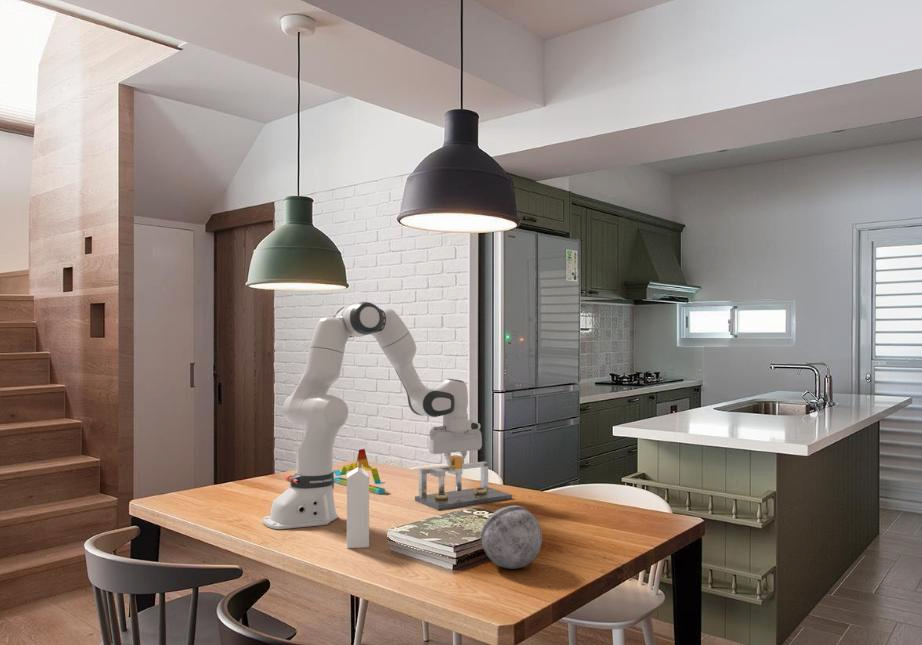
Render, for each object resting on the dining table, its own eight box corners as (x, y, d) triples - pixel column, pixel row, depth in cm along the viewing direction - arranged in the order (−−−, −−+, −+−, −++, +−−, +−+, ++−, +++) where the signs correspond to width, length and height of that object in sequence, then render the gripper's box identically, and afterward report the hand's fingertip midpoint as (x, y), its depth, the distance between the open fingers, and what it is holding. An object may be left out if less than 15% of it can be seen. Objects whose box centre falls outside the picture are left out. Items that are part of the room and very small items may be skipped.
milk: (368, 541, 191) (369, 461, 192) (369, 547, 185) (369, 465, 186) (346, 542, 191) (347, 461, 191) (346, 548, 185) (347, 465, 185)
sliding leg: (456, 491, 238) (456, 458, 239) (448, 488, 243) (448, 455, 243) (463, 490, 240) (463, 457, 240) (455, 487, 245) (455, 455, 245)
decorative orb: (521, 554, 179) (521, 496, 179) (554, 571, 166) (554, 508, 167) (471, 563, 172) (471, 503, 172) (501, 581, 159) (501, 516, 159)
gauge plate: (438, 510, 226) (438, 476, 226) (414, 500, 240) (414, 468, 240) (511, 498, 242) (511, 467, 243) (485, 490, 256) (485, 460, 256)
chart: (331, 482, 272) (331, 444, 272) (338, 481, 274) (338, 443, 274) (378, 495, 250) (378, 453, 250) (385, 494, 252) (385, 452, 252)
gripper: (434, 428, 234) (434, 469, 234) (484, 424, 245) (484, 463, 245) (425, 426, 239) (425, 466, 239) (474, 422, 250) (474, 460, 250)
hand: (455, 464), depth 242 cm, fingers closed on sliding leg, 3 cm apart
